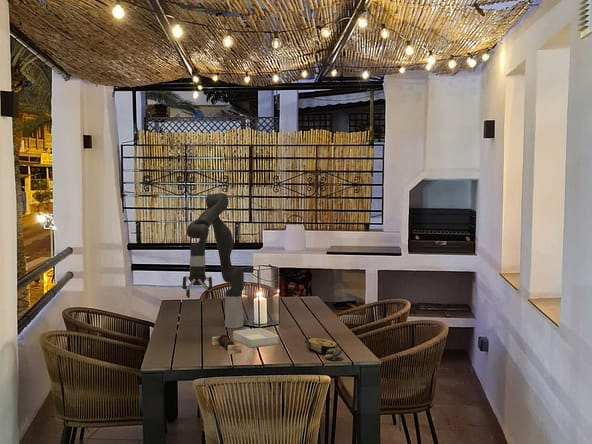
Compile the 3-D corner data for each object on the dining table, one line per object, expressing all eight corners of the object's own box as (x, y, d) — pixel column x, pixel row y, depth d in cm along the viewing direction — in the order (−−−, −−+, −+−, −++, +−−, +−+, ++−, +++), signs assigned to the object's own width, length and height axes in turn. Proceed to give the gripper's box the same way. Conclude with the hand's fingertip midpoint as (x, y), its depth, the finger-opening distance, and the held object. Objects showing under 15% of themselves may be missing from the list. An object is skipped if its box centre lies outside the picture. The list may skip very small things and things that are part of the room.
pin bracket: (223, 342, 299) (223, 335, 299) (241, 352, 281) (241, 345, 281) (212, 344, 296) (212, 336, 296) (229, 354, 278) (229, 346, 278)
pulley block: (321, 348, 265) (303, 332, 295) (319, 361, 265) (301, 344, 295) (351, 351, 269) (331, 335, 298) (349, 364, 269) (329, 347, 298)
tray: (260, 335, 315) (260, 327, 314) (279, 344, 297) (279, 336, 297) (232, 338, 307) (232, 331, 307) (250, 348, 289) (250, 339, 289)
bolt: (230, 356, 282) (221, 347, 296) (239, 349, 283) (230, 341, 297) (224, 345, 280) (216, 337, 294) (234, 339, 282) (225, 331, 296)
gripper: (213, 264, 299) (213, 296, 300) (184, 263, 299) (184, 296, 300) (211, 265, 292) (210, 299, 292) (181, 265, 292) (181, 298, 292)
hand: (197, 297), depth 296 cm, fingers open, 8 cm apart
